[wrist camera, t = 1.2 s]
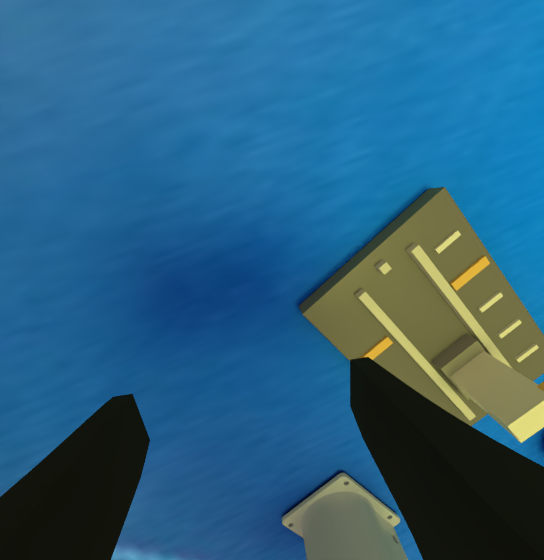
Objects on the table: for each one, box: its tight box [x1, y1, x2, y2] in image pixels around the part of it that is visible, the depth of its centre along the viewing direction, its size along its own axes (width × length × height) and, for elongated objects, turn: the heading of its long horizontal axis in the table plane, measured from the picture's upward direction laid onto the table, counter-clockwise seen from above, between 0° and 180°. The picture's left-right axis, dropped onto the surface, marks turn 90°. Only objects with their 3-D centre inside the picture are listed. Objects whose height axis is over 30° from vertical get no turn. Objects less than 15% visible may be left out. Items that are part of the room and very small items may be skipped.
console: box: [299, 187, 544, 426], centre depth 19 cm, size 18×12×2 cm, turn 44°
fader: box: [432, 334, 544, 443], centre depth 17 cm, size 4×3×5 cm
